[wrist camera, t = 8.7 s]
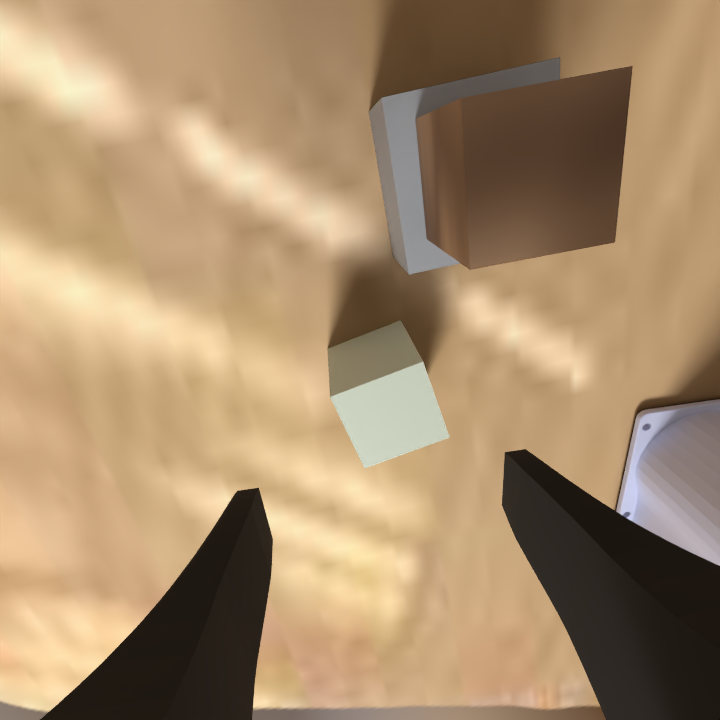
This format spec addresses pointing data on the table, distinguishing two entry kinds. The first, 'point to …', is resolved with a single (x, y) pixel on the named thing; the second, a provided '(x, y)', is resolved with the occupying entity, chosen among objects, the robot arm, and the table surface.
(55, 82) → the table surface
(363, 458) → the sage block
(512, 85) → the grey base block
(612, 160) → the walnut block
